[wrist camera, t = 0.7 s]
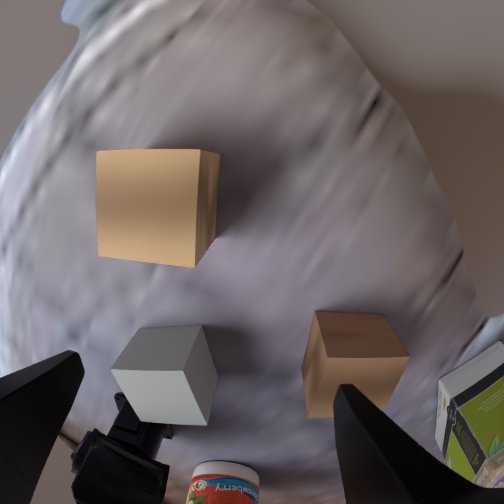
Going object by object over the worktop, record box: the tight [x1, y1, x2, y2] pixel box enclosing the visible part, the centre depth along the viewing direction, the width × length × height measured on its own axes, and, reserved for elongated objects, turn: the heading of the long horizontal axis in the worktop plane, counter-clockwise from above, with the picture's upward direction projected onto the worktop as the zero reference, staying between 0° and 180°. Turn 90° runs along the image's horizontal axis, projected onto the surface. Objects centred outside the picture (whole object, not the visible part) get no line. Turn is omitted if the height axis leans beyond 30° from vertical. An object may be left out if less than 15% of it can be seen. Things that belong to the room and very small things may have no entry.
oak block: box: [96, 149, 221, 268], centre depth 17 cm, size 6×6×6 cm
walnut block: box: [302, 311, 410, 418], centre depth 19 cm, size 6×6×6 cm
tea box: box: [435, 341, 504, 488], centre depth 17 cm, size 15×10×15 cm, turn 24°
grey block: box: [111, 324, 219, 425], centre depth 21 cm, size 6×6×6 cm
